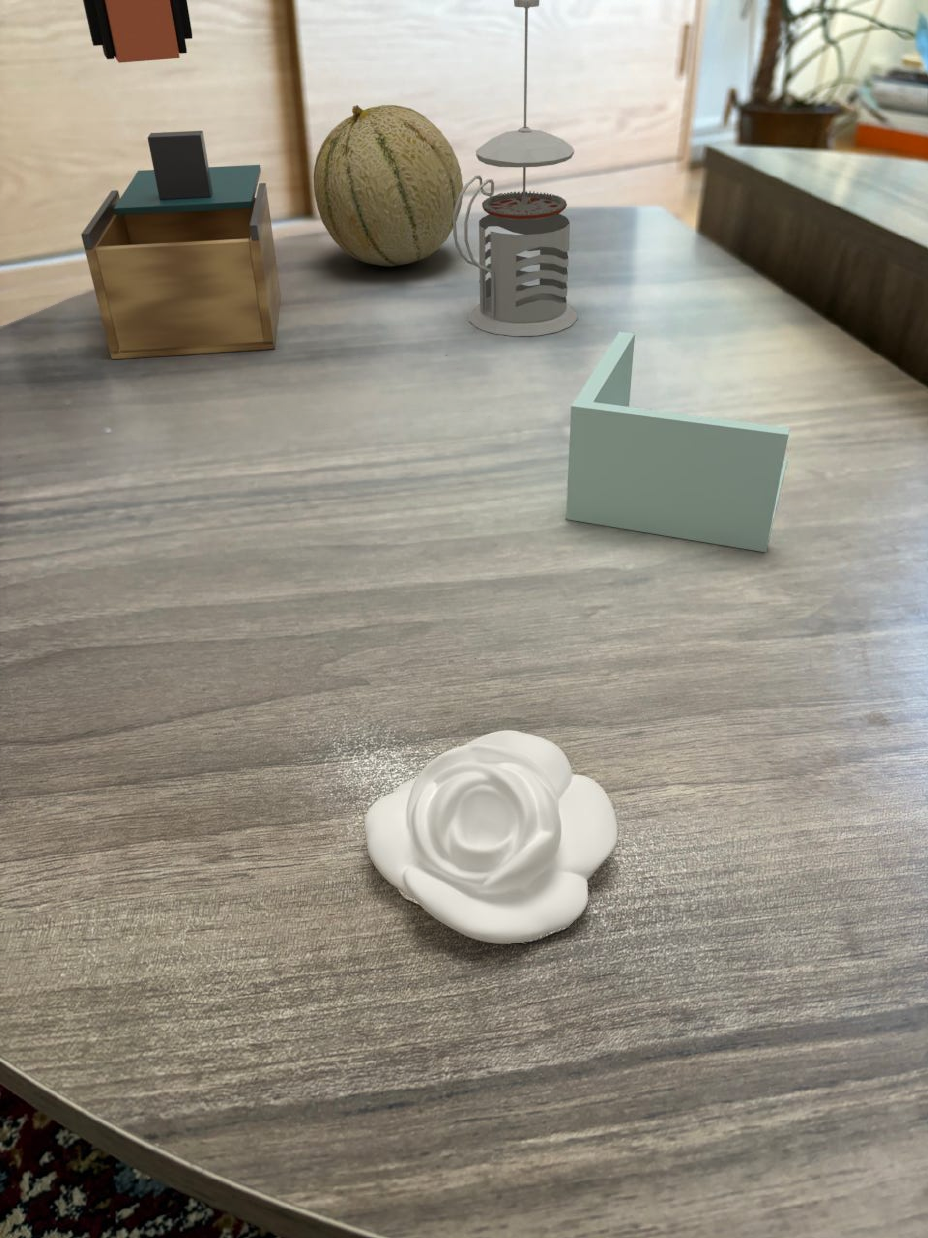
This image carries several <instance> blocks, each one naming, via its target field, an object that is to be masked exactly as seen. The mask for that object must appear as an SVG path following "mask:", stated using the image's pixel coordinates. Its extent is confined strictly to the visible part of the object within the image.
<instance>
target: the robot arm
mask: <svg viewBox="0 0 928 1238" xmlns="http://www.w3.org/2000/svg"><path fill="white" fill-rule="evenodd" d="M82 2H83V3H82V4H83V6H84V13H85V16H86V20H87V26H88V30H89V34H90V40H91V43H92V46H93V47H94V46H95V47H97V46H102V52H103V55H104V57H105V58H106V60H114V59H115V57H116V52H115V47H114V43H113V38H112V33H111V28H110V23H109V18H108V13H107V9H106V4H105V0H82ZM170 4H171V10H172V16H173V22H174V27H175V33H176V39H177V45H178V51H179V55H181V54H182V55H183V54H187V53H188V51H187V50H188V49H187V44H186V43H187V42H186V40H192V39H193V30H192V24H191V17H190V11H189V6H188V5H189V4H188V0H170Z"/></svg>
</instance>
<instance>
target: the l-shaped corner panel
mask: <svg viewBox="0 0 928 1238" xmlns="http://www.w3.org/2000/svg"><path fill="white" fill-rule="evenodd" d="M635 339H636V332H635V333H634V332H627V331H626V332H625V331H618V333H617V335H616V336H615V337H614V339H613V341H612V342H611V344H610V345H609V347H608V348H607V350H606V352H605V353H604V354H603V356H602V358H601V359H600V361H599V362H598V364H597V365H596V367H595V369H594V370H593V372H591V374H590V376H589V377H588V379H587V381H586V382H585V384H584V385H583V386H582V388H581V390H580V392H579V393H578V394H577V396H576V398H575V399H574V401H573V402H572V404H571V405H570V422H569V423H570V424H569V443H568V445H569V446H568V447H569V448H568V468H567V469H568V471H567V488H566V489H567V490H566V491H567V492H566V510H565V511H566V512H565V519H566V520H569V521H575V522H582V523H588V524H592V525H598V526H599V525H600V526H606V527H611V528H615V529H616V528H617V529H623V530H629V531H634V532H640V533H641V532H642V533H647V534H654V535H658V536H659V535H660V536H665V537H672V538H676V539H683V540H690V541H695V542H701V543H706V544H712V545H719V546H726V547H731V548H737V549H743V550H748V551H749V550H750V551H754V552H755V551H756V552H759V553H767V551H768V550H767V549H768V545H769V540H770V536H771V532H772V528H773V523H774V519H775V514H776V510H777V506H778V501H779V497H780V493H781V488H782V484H783V480H784V476H785V471H786V467H787V464H788V463H787V462H788V459H787V458H785V456H786V450H787V445H788V440H789V434H790V429H791V427H788V426H780V425H771V424H763V423H758V422H757V423H756V422H748V421H741V420H733V419H725V418H718V417H710V416H702V415H695V414H688V413H687V414H686V413H679V412H671V411H663V410H657V409H648V408H640V407H634V406H630V401H631V387H632V375H633V365H634V354H635V353H634V352H635Z"/></svg>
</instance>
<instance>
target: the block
mask: <svg viewBox="0 0 928 1238" xmlns="http://www.w3.org/2000/svg"><path fill="white" fill-rule="evenodd" d="M105 4H106V9H107V13H108V18H109V23H110V28H111V33H112V38H113V43H114V47H115V52H116V57H114V59H115V60H116V62H118V63H119V64H120V63H132V62H133V63H134V62H143V61H144V62H145V61H159V60H172V59H180V53H179V51H178V45H177V39H176V33H175V27H174V22H173V16H172V10H171V4H170V0H105Z"/></svg>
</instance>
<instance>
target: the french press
mask: <svg viewBox="0 0 928 1238" xmlns="http://www.w3.org/2000/svg"><path fill="white" fill-rule="evenodd" d="M513 6H514V7H515V8H523V9H524V60H523V61H524V64H523V66H524V68H523V69H524V71H523V72H524V73H523V126H522V127H520V128H519V129H516V130H509V131H505V132H503V133H500V134H498V135H496V136H494V137H492V138H490V139H489V140H488V141H487V142H485V143H483V144H482V145H481V146H479V148H477V149H476V150H475V155H476V158H477V160H478V161H479V162H481V163H483V164H485V165H488V166H493V167H498V168H522V191H521V192H520V191H518V192H517V191H510V192H507V193H506V192H504V193H502V192H500V193H497V194H495V195H494V192H495V182H494V180H493V179H492V178H487V179H486V180H484V181H483V178H482V176H481V175H474V177H472V178H471V179H470V180H469V181H468V182H467V183H465V184H464V185H463V189H462V191H461V193H460V194H459V197H458V200H457V203H456V206H455V210H454V214H453V230H452V232H453V233H452V235H453V240H454V245H455V248H456V250H457V252H458V254H459V256H460V257H461V258H462V260H464V261H465V263H467V264H468V265H471V266H474V267H476V268H478V269H479V303H478V304H477V305H476V306H474V308H473V309H472V310H471V311H470V312H469V314H468V317H469V318H468V319H469V322H470V323H471V324H472V325H473V326H475V327H476V328H477V329H479V330H482V331H485V332H488V333H491V334H495V335H501V336H510V337H539V336H542V335H549V334H553V333H554V334H555V333H558V332H561V331H563V330H566V329H567V328H569V327H572V326H573V325H574V323H575V322H576V321H577V320H578V314H577V311H576V310H575V309H574V308H573V306H572V305H570V303H569V302H568V300H567V296H568V284H567V283H568V282H569V272H568V267H569V254H568V252H569V251H570V233H571V232H570V229H571V228H570V227H571V223H570V220H569V218H568V217H567V216H566V215H564V214H561V213H563V212H564V210H565V209H567V206H568V204H567V201H566V200H565V198H563V197H561V196H559V195H555V194H553V193H548V192H543V193H542V192H540V193H539V192H538V191H536V192H535V191H531V190H529V192H528V191H526V176H527V175H526V173H527V172H526V171H527V169H526V168H539V167H548V166H554V165H557V164H561V163H565V162H567V161H569V160H570V159H572V157H573V155H574V154H575V149H574V147H573V146H572V145H571V144H569V143H568V142H567V141H565V140H564V139H562V138H560V137H559V136H556V135H553V134H552V133H549V132H546V131H543V130H539V129H531V128H530V127H529V126H527V100H528V99H527V98H528V93H527V92H528V89H527V88H528V31H529V29H528V24H529V23H528V22H529V9H530V8H536V7H539V6H540V0H513ZM475 180H479V186H478V187H477V188H476V190H475V191H474V193H473V195H472V197H471V198H470V201H469V203H468V205H467V207H466V211H465V212H466V214H465V218H464V223H463V229H464V232H463V233H464V235H463V237H464V238H463V239H464V245H465V248H466V251H467V253H468V256H469V259H470V260H469V259H468V258H467V257H466V256H465V255H464V254H463V251H462V250H461V246H460V243H459V241H458V231H457V221H456V216H457V211H458V207H459V204H460V201H461V198H462V196H463V197H464V194H465V192H466V190H467V189H468V188H469V186H470V185H471V184H472V183H473V182H474V181H475ZM487 184H490V192H488V191H485V190H484V187H485V186H486V185H487ZM479 192H481V194H482V195H484V196H486V197H488V198H486V199H484V200H483V201H482V203H481V207H482V209H483V211H484V212H485V213H487V215H485V216H483V217H481V218H480V219H479V220H478V250H479V251H478V253H479V255H478V256H479V259H478V260H479V261H478V260H476V259H475V258H474V255H473V253H472V250H471V247H470V243H469V240H468V239H469V238H468V237H469V235H468V228H469V227H468V221H469V218H470V212H471V209H472V205H473V203H474V201H475V199H476V198H477V196H478V194H479ZM462 199H463V198H462ZM489 227H498V228H501V229H504V230H506V231H509V232H511V233H513V234H511V233H502V232H501V233H500V232H495V231H492V230H491V231H490V233H489V234H487V235H486V230H487V229H488V228H489ZM489 243H490V248H488V249H487V250H486V245H488V244H489ZM534 251H539V254H537V255H534V256H530V257H526V256H522V255H519V254H521V253H523V252H534ZM489 258H490V263H488V264H486V260H488V259H489ZM530 266H539V270H534V271H525V270H522V269H524V268H526V267H530ZM488 273H490V277H488V278H487V277H486V276H487V274H488ZM535 280H539V284H533V285H526V283H528V282H532V281H535Z"/></svg>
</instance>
